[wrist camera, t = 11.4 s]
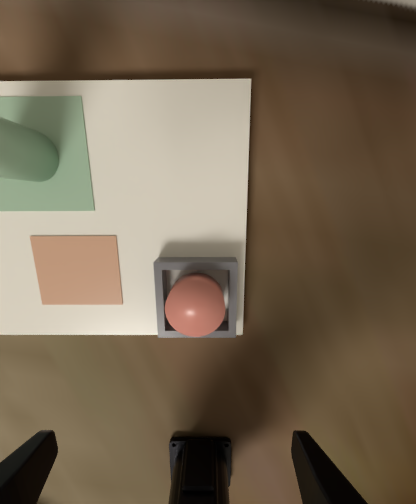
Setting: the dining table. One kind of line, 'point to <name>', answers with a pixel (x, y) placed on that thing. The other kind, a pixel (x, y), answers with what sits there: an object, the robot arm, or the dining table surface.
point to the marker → (26, 153)
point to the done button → (195, 305)
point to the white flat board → (125, 204)
